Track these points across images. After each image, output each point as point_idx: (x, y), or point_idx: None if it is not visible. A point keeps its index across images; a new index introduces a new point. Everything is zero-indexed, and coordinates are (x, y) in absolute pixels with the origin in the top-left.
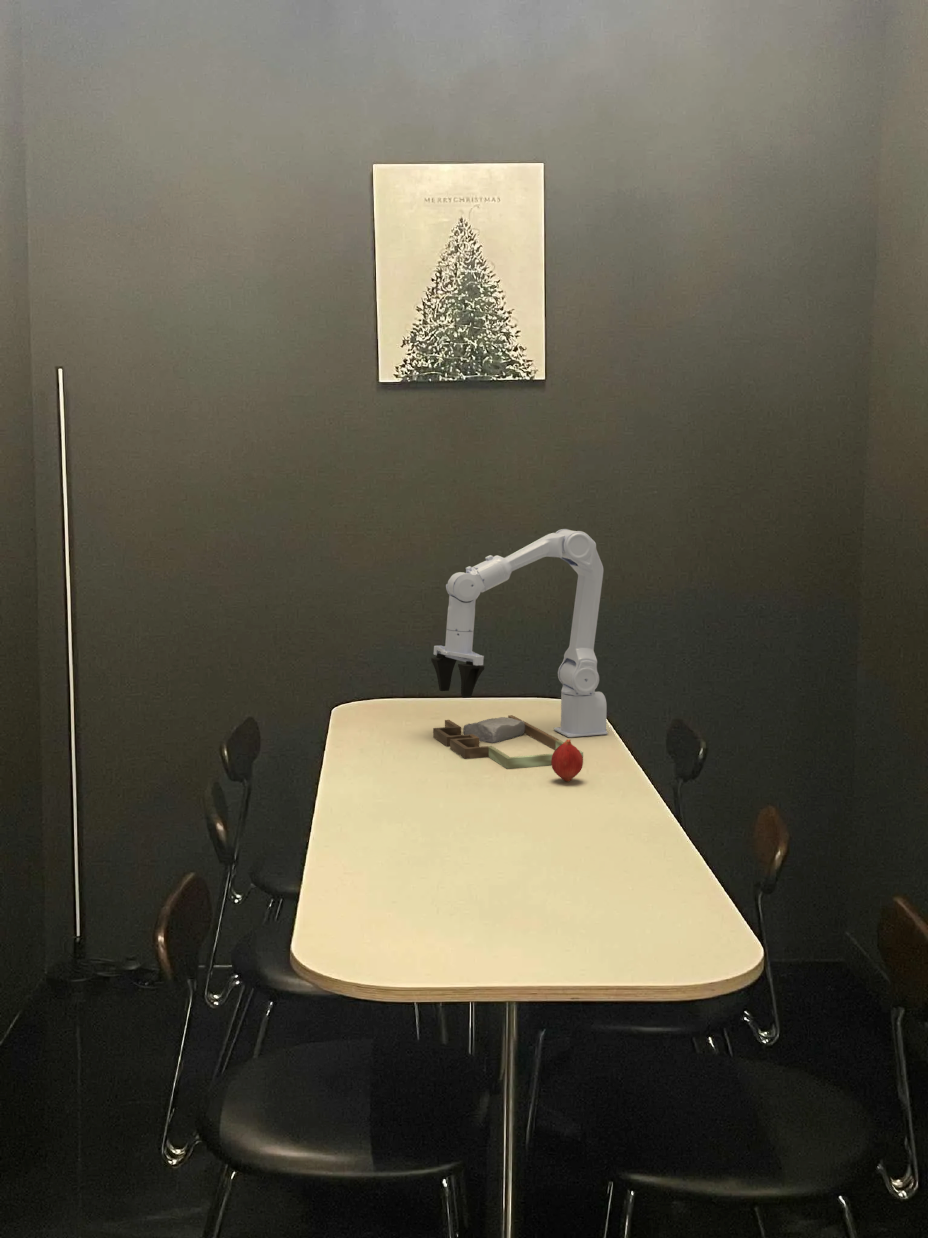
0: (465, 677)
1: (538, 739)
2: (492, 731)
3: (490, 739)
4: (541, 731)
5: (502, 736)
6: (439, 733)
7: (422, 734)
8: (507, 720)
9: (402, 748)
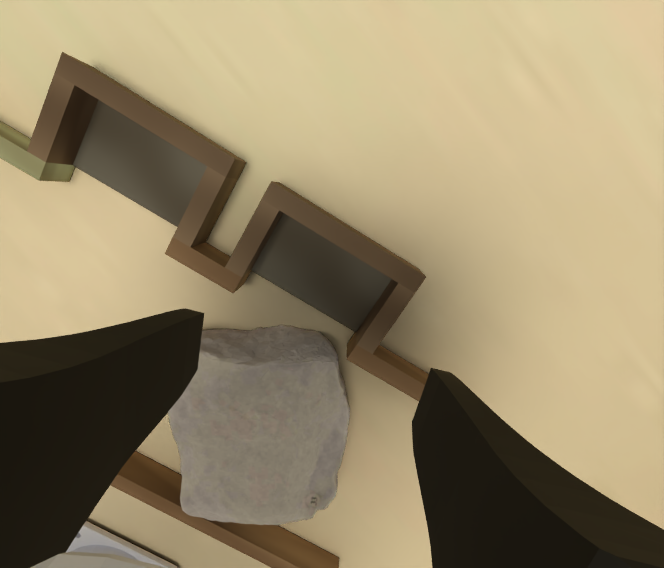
0: (12, 347)
1: None
2: None
3: None
4: None
5: None
6: (356, 233)
7: (484, 282)
8: (233, 492)
9: (398, 33)
